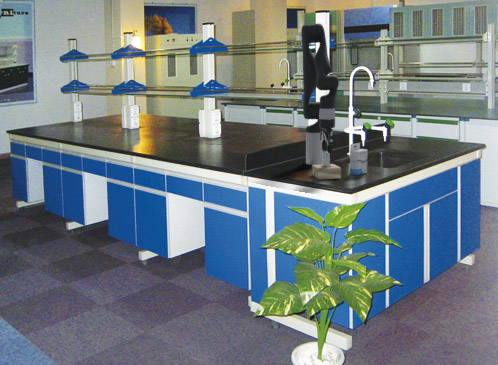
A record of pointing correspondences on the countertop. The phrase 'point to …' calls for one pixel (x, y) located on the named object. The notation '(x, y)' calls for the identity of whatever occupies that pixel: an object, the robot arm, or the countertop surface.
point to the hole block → (326, 171)
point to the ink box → (358, 159)
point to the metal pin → (326, 159)
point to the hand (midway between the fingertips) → (326, 151)
